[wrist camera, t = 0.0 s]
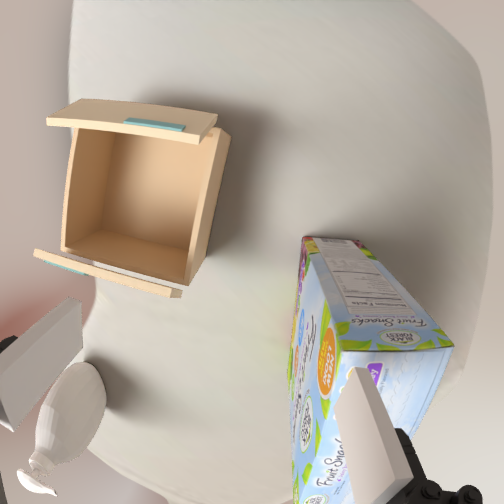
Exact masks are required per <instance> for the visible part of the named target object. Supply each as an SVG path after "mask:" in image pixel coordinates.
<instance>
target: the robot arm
mask: <svg viewBox="0 0 504 504" xmlns="http://www.w3.org/2000/svg"><path fill="white" fill-rule="evenodd" d="M81 304H82V302H81V301H80V300H77V299H74V298H71V297H68V298H66V299H65V300H64V301H62V302H61V303H60V304H59V305H58V306H56V307H55V308H54V309H52V310H51V311H50V312H49V313H48V314H46V315H45V316H44V317H43V318H42V319H40V320H39V321H38V322H37V323H36V324H34V325H33V326H32V327H31V328H29V329H28V330H27V331H26V332H25V333H23V334H22V335H21V336H20V337H19V338H18V337H16V336H14V335H13V336H11V337H8V338H6V339H4V340H2V341H1V342H0V424H2V425H4V426H5V427H7V428H8V429H10V430H11V431H13V432H14V431H15V430H16V429H17V427H18V426H19V425H20V423H21V422H22V421H23V420H24V418H25V417H26V416H27V415H28V413H29V412H30V411H31V409H32V408H33V407H34V406H35V404H36V403H37V402H38V401H39V399H40V398H41V397H42V396H43V394H44V393H45V392H46V391H47V389H48V388H49V387H50V385H52V383H53V382H54V381H55V380H56V378H57V377H58V376H59V375H60V374H61V373H62V371H63V370H64V369H65V368H66V367H67V365H68V364H69V363H70V362H71V361H72V360H73V358H74V357H75V356H76V355H77V354H78V353H79V351H80V350H81V349H82V348H83V338H82V305H81ZM333 409H334V413H335V417H336V421H337V425H338V429H339V434H340V438H341V442H342V447H343V451H344V455H345V460H346V464H347V469H348V473H349V478H350V482H351V487H352V492H353V497H354V501H355V504H483V503H482V494H481V493H480V491H479V490H478V489H477V488H476V487H474V486H472V485H465V486H463V487H462V488H460V489H459V490H458V491H457V492H450V491H443V490H442V489H441V487H440V486H439V485H438V484H437V483H435V482H434V481H431V480H427V478H426V476H425V474H424V471H423V468H422V466H421V464H420V461H419V459H418V457H417V454H415V453H416V452H415V450H414V447H412V443H411V440H410V438H409V436H408V435H407V434H406V433H405V432H404V430H403V429H402V428H394V427H393V424H392V422H391V419H390V417H389V415H388V412H387V410H386V408H385V405H384V403H383V401H382V398H381V396H380V394H379V391H378V389H377V387H376V385H375V382H374V380H373V378H372V376H371V373H370V371H369V369H368V368H361V367H354V368H353V370H352V372H351V374H350V376H349V378H348V380H347V382H346V384H345V386H344V388H343V390H342V392H341V394H340V396H339V398H338V400H337V401H336V403H335V405H334V407H333ZM0 504H7V500H6V497H5V492H4V487H3V483H2V478H1V473H0Z"/></svg>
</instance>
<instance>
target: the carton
mask: <svg viewBox="0 0 504 504" xmlns="http://www.w3.org/2000/svg"><path fill="white" fill-rule="evenodd" d="M231 138H232V137H231V136H230V135H229V134H227V133H226V132H225V131H224V130H222V129H221V128H216V127H212V128H211V130H210V131H209V132H208V134H207V135H206V136H205V137H204V139H203V140H202V141H201V143H200V144H199V145H196V144H190V143H185V142H179V141H173V140H167V139H161V138H155V137H149V136H142V135H135V134H128V133H120V132H112V131H104V130H95V129H85V128H75V129H74V134H73V139H72V145H71V151H70V157H69V164H68V170H67V178H66V186H65V195H64V206H63V218H62V234H61V251H64V252H67V253H70V254H74V255H77V256H80V257H83V258H87V259H90V260H94V261H97V262H101V263H104V264H107V265H111V266H115V267H118V268H122V269H125V270H129V271H132V272H136V273H140V274H143V275H147V276H151V277H155V278H158V279H162V280H166V281H170V282H174V283H178V284H182V285H185V286H189V284H190V283H191V281H192V279H193V278H194V276H195V274H196V273H197V271H198V269H199V267H200V266H201V264H202V262H203V261H204V259H205V257H206V252H207V247H208V242H209V237H210V232H211V227H212V222H213V217H214V213H215V208H216V203H217V199H218V194H219V190H220V185H221V181H222V176H223V172H224V168H225V163H226V159H227V155H228V150H229V146H230V142H231Z"/></svg>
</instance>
